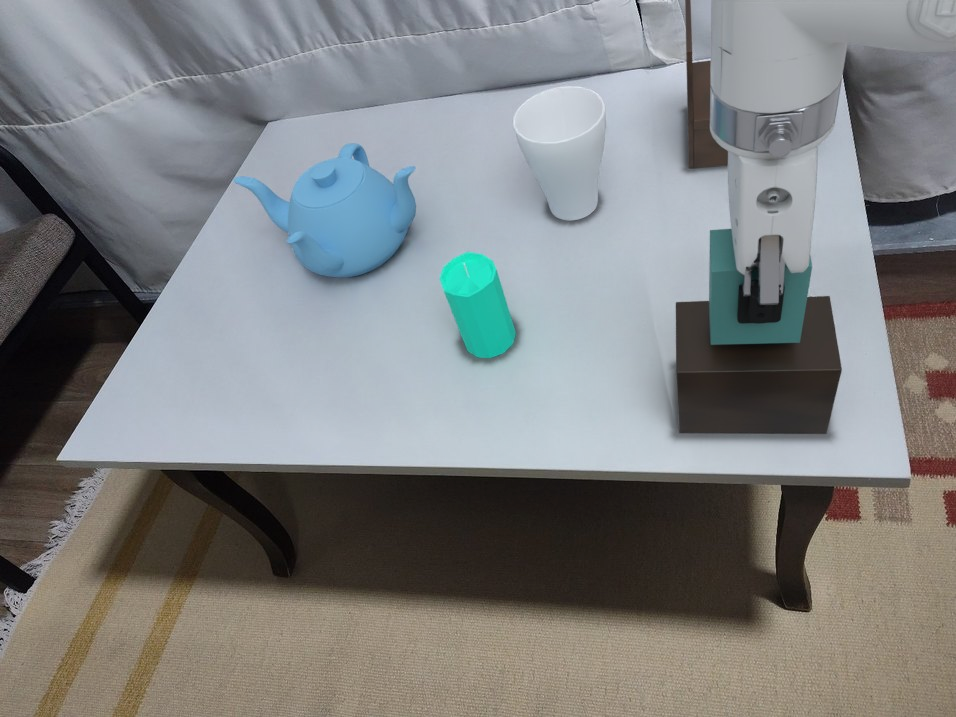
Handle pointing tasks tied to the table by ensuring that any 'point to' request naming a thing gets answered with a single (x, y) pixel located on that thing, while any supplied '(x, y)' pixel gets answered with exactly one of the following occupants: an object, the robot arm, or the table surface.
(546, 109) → the cup
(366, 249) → the teapot
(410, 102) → the table surface
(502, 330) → the candle
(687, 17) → the shelf
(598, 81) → the table surface
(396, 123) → the table surface
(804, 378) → the dark brown box
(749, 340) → the block
